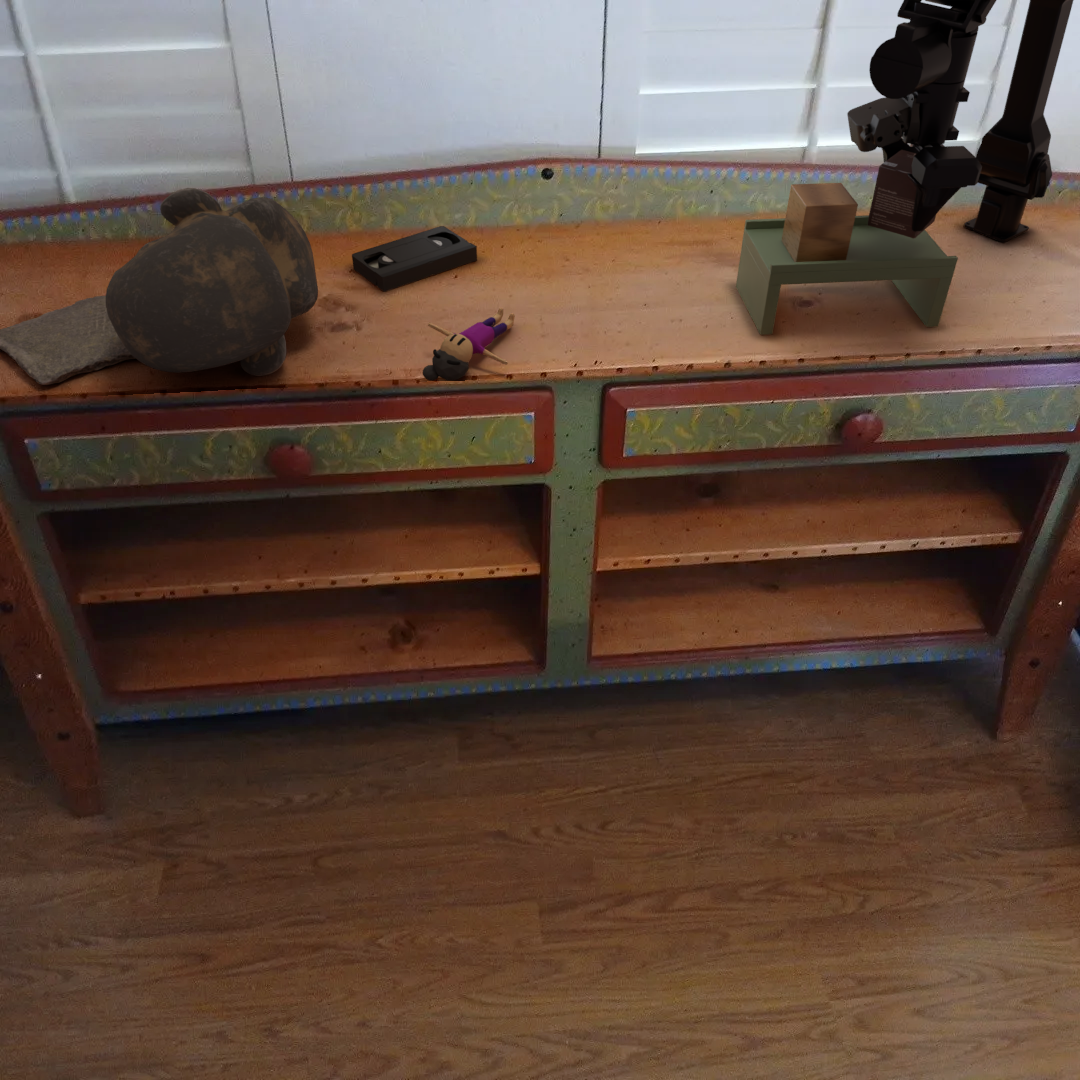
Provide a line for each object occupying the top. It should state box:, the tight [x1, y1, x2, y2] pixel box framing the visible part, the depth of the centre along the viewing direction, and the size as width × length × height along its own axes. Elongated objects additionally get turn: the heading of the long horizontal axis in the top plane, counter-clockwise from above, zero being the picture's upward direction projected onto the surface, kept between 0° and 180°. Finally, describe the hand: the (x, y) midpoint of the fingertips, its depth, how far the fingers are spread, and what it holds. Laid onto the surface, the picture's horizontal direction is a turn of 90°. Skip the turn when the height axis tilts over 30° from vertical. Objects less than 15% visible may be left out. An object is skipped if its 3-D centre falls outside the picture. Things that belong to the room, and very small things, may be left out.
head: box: [105, 187, 319, 377], centre depth 116 cm, size 21×23×25 cm
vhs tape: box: [351, 225, 478, 293], centre depth 138 cm, size 14×8×2 cm, turn 128°
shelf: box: [735, 214, 959, 336], centre depth 129 cm, size 22×12×9 cm, turn 96°
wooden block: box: [782, 182, 859, 262], centre depth 123 cm, size 6×6×7 cm
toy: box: [422, 307, 516, 382], centre depth 122 cm, size 10×6×15 cm
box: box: [867, 150, 937, 239], centre depth 122 cm, size 6×6×7 cm
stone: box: [0, 295, 136, 386], centre depth 122 cm, size 17×3×15 cm
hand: (903, 214), depth 124 cm, fingers closed on box, 8 cm apart
